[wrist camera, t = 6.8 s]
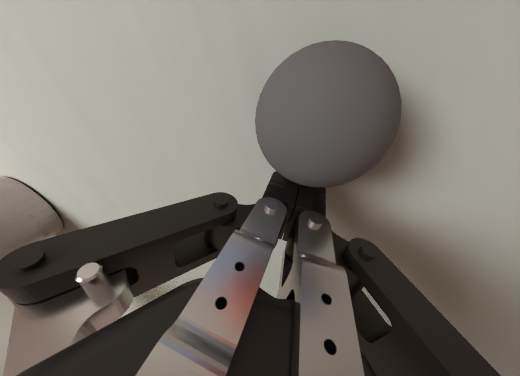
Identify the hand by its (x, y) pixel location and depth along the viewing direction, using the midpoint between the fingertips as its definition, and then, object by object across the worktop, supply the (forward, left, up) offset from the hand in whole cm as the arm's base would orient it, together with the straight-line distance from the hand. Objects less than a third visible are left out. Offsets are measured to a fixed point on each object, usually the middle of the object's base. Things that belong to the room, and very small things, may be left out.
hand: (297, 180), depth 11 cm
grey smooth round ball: (0, +4, +1) cm, 4 cm away
